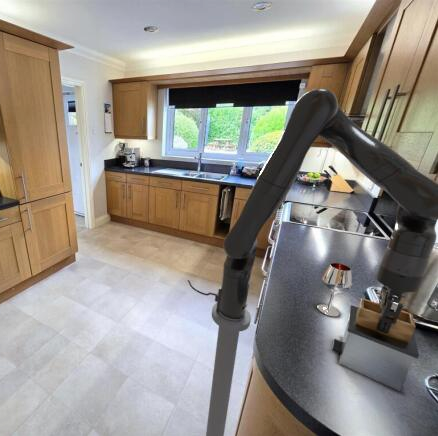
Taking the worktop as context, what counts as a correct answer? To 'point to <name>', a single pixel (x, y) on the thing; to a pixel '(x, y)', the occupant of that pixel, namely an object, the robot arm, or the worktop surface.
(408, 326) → the open wooden box
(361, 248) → the worktop surface
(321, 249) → the worktop surface
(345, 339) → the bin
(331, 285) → the wineglass
